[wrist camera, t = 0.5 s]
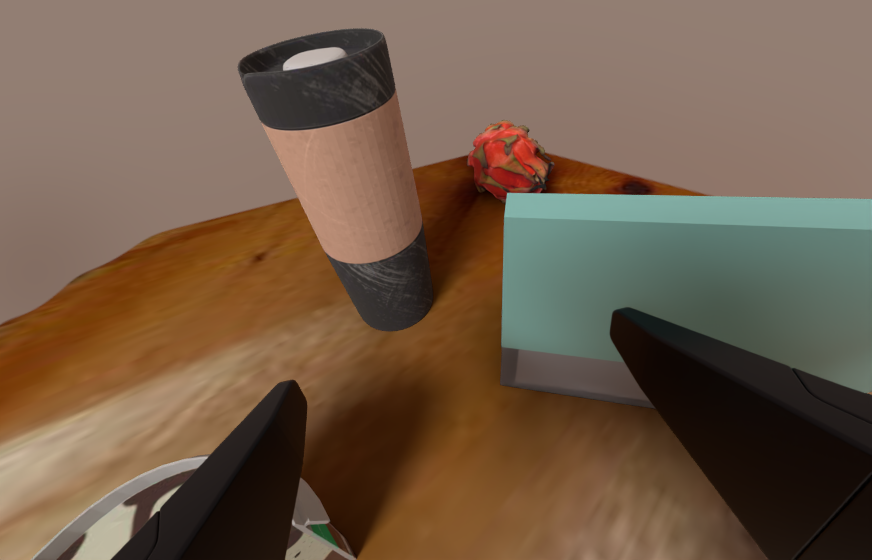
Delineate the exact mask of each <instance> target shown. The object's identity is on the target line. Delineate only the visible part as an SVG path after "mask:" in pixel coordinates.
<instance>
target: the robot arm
mask: <svg viewBox="0 0 872 560" xmlns="http://www.w3.org/2000/svg"><path fill="white" fill-rule="evenodd" d="M610 338H611V340H612V342H613V344H614V346H615V347H616V349H617V351H618V352H619V354H620V356H621V357H622V359H623V361H624V362H625V364H626V366H627V367H628V369H629V371H630V372H631V374H632V376H633V377H634V379H635V381H636V382H637V384H638V385H639V387H640V388H641V390H642V391H643V392H644V394H645V395H646V397H647V398H648V399H649V401H650V402H651V403H652V405H653V406H654V407H655V409H656V410H657V411H658V413H659V414H660V415H661V417H662V418H663V419H664V421H665V422H666V423H667V425H668V426H669V427H670V429H671V430H672V431H673V433H674V434H675V435H676V437H677V438H678V439H679V441H680V442H681V443H682V445H683V446H684V447H685V449H686V450H687V451H688V453H689V454H690V455H691V457H692V458H693V459H694V461H695V462H696V463H697V465H698V466H699V467H700V469H701V470H702V471H703V473H704V474H705V475H706V477H707V478H708V479H709V481H710V482H711V483H712V485H713V486H714V487H715V489H716V490H717V491H718V493H719V494H720V495H721V497H722V498H723V499H724V501H725V502H726V503H727V505H728V506H729V507H730V509H731V510H732V512H733V513H734V514H735V516H736V517H737V518H738V520H739V521H740V522H741V524H742V525H743V526H744V528H745V529H746V530H747V532H748V533H749V534H750V536H751V537H752V538H753V540H754V541H755V542H756V544H757V545H758V546H759V548H760V549H761V550H762V552H763V553H764V554H765V556H766V557H767V558H768V560H872V395H870V394H867V393H864V392H861V391H858V390H855V389H852V388H849V387H846V386H843V385H840V384H838V383H835V382H832V381H829V380H826V379H823V378H821V377H818V376H815V375H812V374H810V373H807V372H804V371H802V370H799V369H796V368H792V369H791V367H790V366H788V365H785V364H782V363H780V362H777V361H774V360H772V359H769V358H766V357H763V356H761V355H758V354H755V353H753V352H750V351H747V350H744V349H742V348H739V347H736V346H734V345H731V344H728V343H725V342H723V341H720V340H717V339H715V338H712V337H709V336H707V335H704V334H701V333H698V332H696V331H693V330H690V329H688V328H685V327H682V326H679V325H677V324H674V323H671V322H669V321H666V320H663V319H660V318H658V317H655V316H652V315H650V314H647V313H644V312H641V311H639V310H636V309H633V308H630V307H625V308H620V309H616V310H614V311H613V312H612V317H611V324H610ZM306 419H307V401H306V398H305V396H304V394H303V393H302V391H301V389H300V387H299V385H298V383H297V382H296V381H295V380H288V381H284V382H280V383H278V384H277V385H276V386H275V387H274V388H273V389H272V390H271V391H270V392H269V393H268V394H267V395H266V396H265V397H264V399H263V400H262V401H261V402H260V403H259V404H258V405H257V406H256V407H255V408H254V409H253V410H252V411H251V412H250V413H249V414H248V415H247V417H246V418H245V419H244V420H243V421H242V422H241V423H240V424H239V425H238V426H237V427H236V428H235V429H234V430H233V431H232V432H231V433H230V434H229V436H228V437H227V438H226V439H225V440H224V441H223V442H222V443H221V444H220V445H219V446H218V447H217V448H216V449H215V450H214V451H213V452H212V454H211V455H210V456H209V457H208V458H207V459H206V460H205V461H204V462H203V463H202V464H201V465H200V466H199V467H198V468H197V469H196V470H195V472H194V473H193V474H192V475H191V476H190V477H189V478H188V479H187V480H186V481H185V482H184V483H183V484H182V485H181V486H180V487H179V488H178V489H177V491H176V492H175V493H174V494H173V495H172V496H171V497H170V498H169V499H168V500H167V501H166V502H165V503H164V504H163V505H162V506H161V508H160V511H157V512H156V513H155V514H154V515H153V516H152V517H151V518H150V519H149V520H148V521H147V522H146V523H145V524H144V525H143V526H142V527H141V528H140V530H139V531H138V532H137V533H136V534H135V535H134V536H133V537H132V538H131V539H130V540H129V541H128V542H127V543H126V544H125V545H124V546H123V547H122V548H121V549H120V550H119V551H118V552H117V553H116V554H115V555H114V556H113V557H112V558H111V559H110V560H285V558H286V552H287V547H288V541H289V536H290V531H291V525H292V520H293V515H294V509H295V504H296V498H297V493H298V488H299V482H300V477H301V472H302V465H303V457H304V446H305V432H306Z"/></svg>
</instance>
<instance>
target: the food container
mask: <svg viewBox="0 0 872 560" xmlns="http://www.w3.org/2000/svg"><path fill="white" fill-rule="evenodd" d="M210 455H211V454H209V455H200V456H195V457H192V458H188V459H183V460H180V461H176V462H172V463H169V464H165V465H162V466H160V467H157V468H155V469H153V470H150V471H148V472H146V473H143V474H141V475H139V476H137V477H135V478H134V479H132V480H130V481H128V482H127V483H125V484H123V485H121V486H119V487H118V488H116V489H114V490H113V491H111V492H110V493H108V494H107V495H106V496H104V497H103V498H101V499H100V500H98V501H97V502H95V503H94V504H93V505H91V506H90V507H88V508H87V509H86V510H85V511H84V512H82V513H81V514H80V515H79V516H77V517H76V518H75V519H74V520H73V521H71V522H70V523H69V524H68V525H67V526H65V527H64V528H63V529H62V530H61V531H60V532H59V533H58V534H57V535H56V536H54V537H53V538H52V539H51V540H50V541H49V542H48V543H47V544H46V545H45V546H44V547H43V548H42V549H41V550H40V551H39V552H38V553H37V554H36V555H35V556H34V557H33V558H32V559H31V560H110V559H111V558H112V557H113V556H114V555H115V554H116V553H117V552H118V551H119V550H120V549H121V548H122V547H123V546H124V545H125V544H126V543H127V542H128V541H129V540H130V539H131V538H132V537H133V536H134V535H135V534H136V533H137V532H138V531H139V530H140V528H141V527H142V526H143V525H144V524H145V523H146V522H147V521H148V520H149V519H150V518H151V517H152V516H153V515H154V514H155V513H156V512H157V511H160V508H161V506H162V505H163V504H164V503H165V502H166V501H167V500H168V499H169V498H170V497H171V496H172V495H173V494H174V493H175V492H176V491H177V489H178V488H179V487H180V486H181V485H182V484H183V483H184V482H185V481H186V480H187V479H188V478H189V477H190V476H191V475H192V474H193V473H194V472H195V470H196V469H197V468H198V467H199V466H200V465H201V464H202V463H203V462H204V461H205V460H206V459H207V458H208V457H209V456H210ZM329 521H330V519H329V517H328V515H327V513H326V511H325V509H324V507H323V505H322V503H321V501H320V500H319V498H318V497H317V496H316V494H315V493H314V492H313V490H312V489H311V488H310V486H309V485H308V484H307V482H305V481H304V480H303V479H302V478H301V477H300V482H299V488H298V493H297V498H296V504H295V509H294V515H293V520H292V525H291V531H290V536H289V541H288V547H287V552H286V558H285V560H356V559H357V558H356V556H355V555H354V553H353V551H352V549H351V547H350V545H349V543H348V541H347V539H346V538H345V537H344V536H343V535H342V534H341V533H340V532H339V531H338V530H337V529H336V528H335V527H333V526H332V525H331V524H330V523H329Z"/></svg>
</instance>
